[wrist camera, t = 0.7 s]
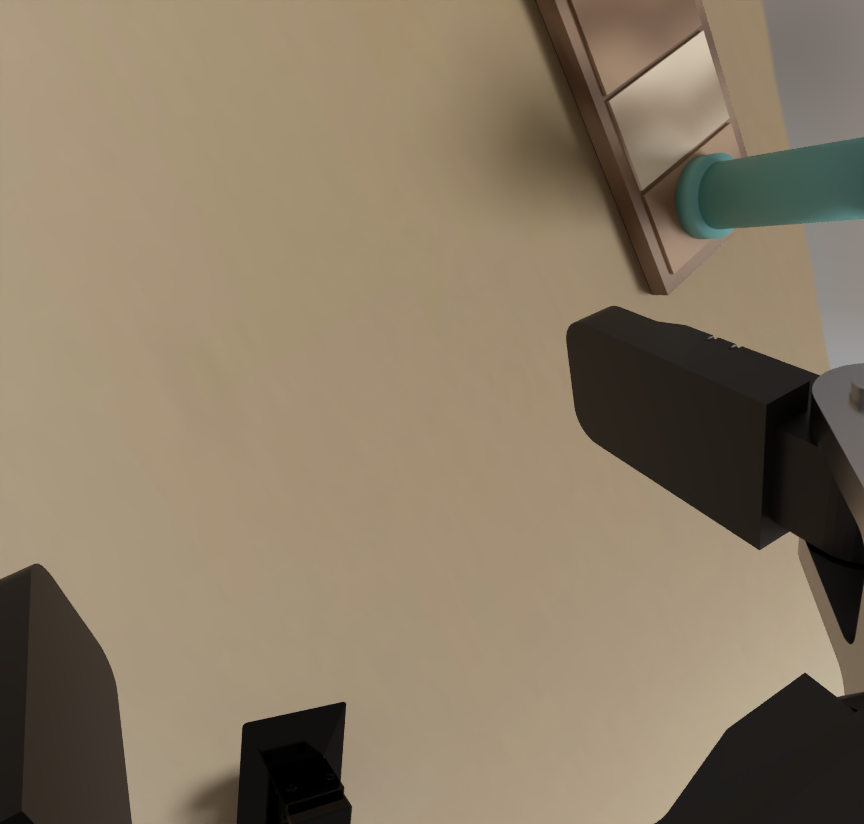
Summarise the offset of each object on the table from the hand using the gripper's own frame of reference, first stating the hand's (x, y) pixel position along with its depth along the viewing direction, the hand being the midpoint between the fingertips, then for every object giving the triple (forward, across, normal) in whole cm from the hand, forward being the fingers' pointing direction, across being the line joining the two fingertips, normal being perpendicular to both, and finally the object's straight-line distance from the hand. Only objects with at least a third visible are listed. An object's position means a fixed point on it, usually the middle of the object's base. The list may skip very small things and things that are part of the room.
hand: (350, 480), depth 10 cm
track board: (+25, -28, 0) cm, 37 cm away
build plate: (+16, +5, +27) cm, 32 cm away
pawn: (+22, -30, +8) cm, 38 cm away
